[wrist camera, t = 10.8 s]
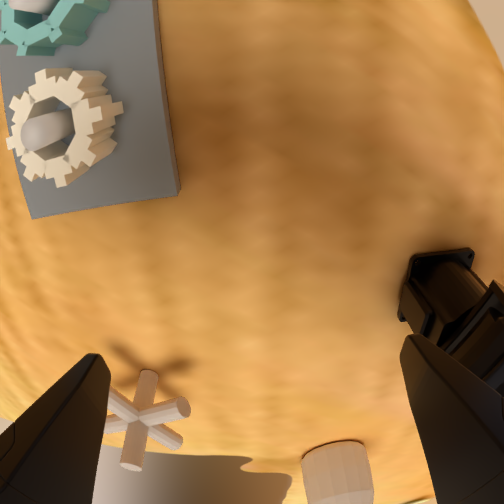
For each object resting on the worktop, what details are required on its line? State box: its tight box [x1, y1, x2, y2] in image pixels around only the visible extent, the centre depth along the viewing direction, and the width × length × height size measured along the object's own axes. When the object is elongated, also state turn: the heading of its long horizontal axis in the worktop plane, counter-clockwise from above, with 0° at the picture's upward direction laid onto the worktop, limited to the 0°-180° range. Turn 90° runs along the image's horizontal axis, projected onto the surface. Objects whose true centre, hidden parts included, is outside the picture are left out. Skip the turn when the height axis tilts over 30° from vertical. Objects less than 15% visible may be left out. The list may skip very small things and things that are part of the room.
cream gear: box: [6, 68, 124, 188], centre depth 14 cm, size 6×6×3 cm
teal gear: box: [0, 0, 110, 56], centre depth 10 cm, size 6×6×3 cm
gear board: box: [0, 0, 181, 219], centre depth 12 cm, size 11×19×6 cm, turn 5°
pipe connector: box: [104, 370, 191, 471], centre depth 23 cm, size 10×10×10 cm
